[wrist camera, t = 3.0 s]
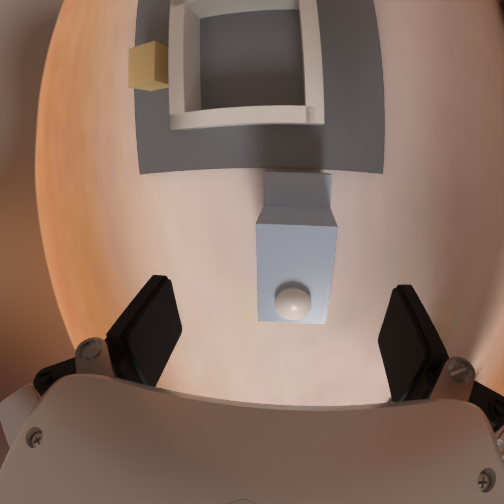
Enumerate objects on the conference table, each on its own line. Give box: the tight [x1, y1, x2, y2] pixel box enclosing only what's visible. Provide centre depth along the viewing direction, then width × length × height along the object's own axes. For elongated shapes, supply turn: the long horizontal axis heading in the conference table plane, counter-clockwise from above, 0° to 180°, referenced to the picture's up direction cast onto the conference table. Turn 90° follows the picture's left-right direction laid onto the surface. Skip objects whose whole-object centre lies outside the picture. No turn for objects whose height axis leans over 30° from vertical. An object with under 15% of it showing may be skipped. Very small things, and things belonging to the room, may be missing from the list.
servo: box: [256, 172, 338, 324], centre depth 17 cm, size 4×10×7 cm, turn 2°
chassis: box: [129, 0, 385, 174], centre depth 14 cm, size 18×16×4 cm
